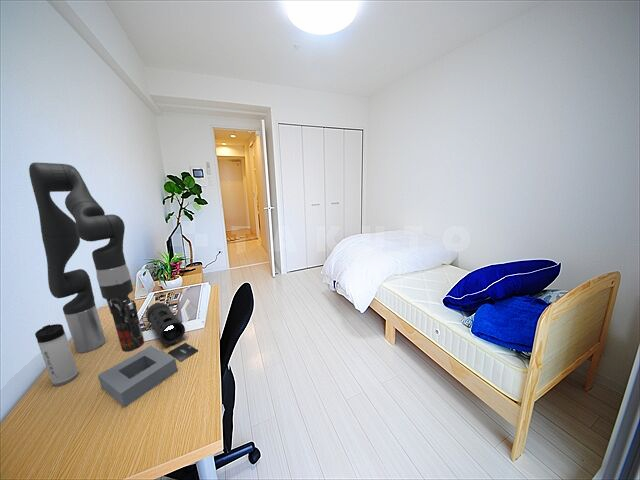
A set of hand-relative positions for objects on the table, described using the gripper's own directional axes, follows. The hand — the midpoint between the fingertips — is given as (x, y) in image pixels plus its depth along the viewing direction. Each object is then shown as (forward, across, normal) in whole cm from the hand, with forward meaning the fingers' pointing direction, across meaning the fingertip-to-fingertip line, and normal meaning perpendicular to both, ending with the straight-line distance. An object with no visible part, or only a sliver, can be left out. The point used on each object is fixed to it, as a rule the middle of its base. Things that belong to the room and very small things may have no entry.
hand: (127, 328), depth 77 cm
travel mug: (+20, -25, -12) cm, 34 cm away
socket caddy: (+19, 0, 0) cm, 19 cm away
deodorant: (+7, 0, 0) cm, 7 cm away
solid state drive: (+20, 0, +15) cm, 25 cm away
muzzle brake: (+20, -21, +20) cm, 35 cm away
